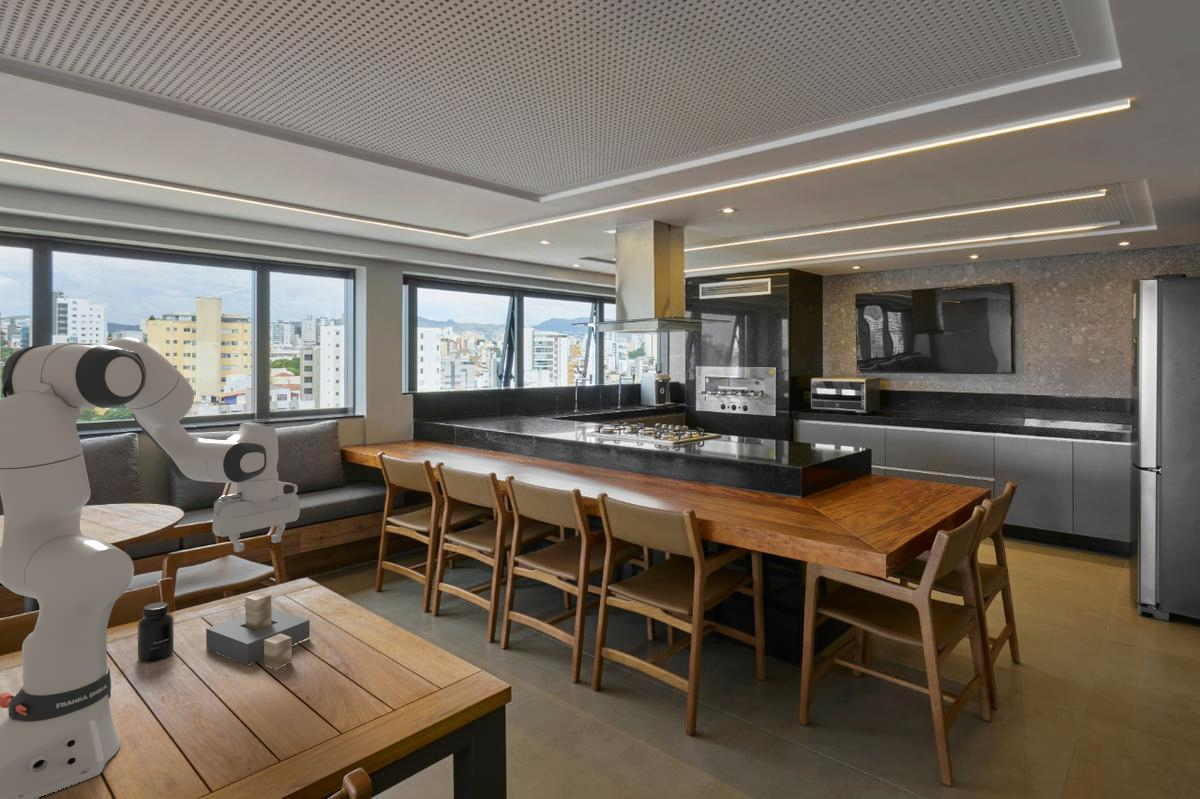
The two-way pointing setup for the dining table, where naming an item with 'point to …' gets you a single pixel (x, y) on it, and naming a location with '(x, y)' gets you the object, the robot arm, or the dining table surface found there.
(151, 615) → the supplement bottle
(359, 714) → the dining table surface
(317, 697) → the dining table surface
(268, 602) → the tall pin
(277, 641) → the short pin
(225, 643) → the socket block
